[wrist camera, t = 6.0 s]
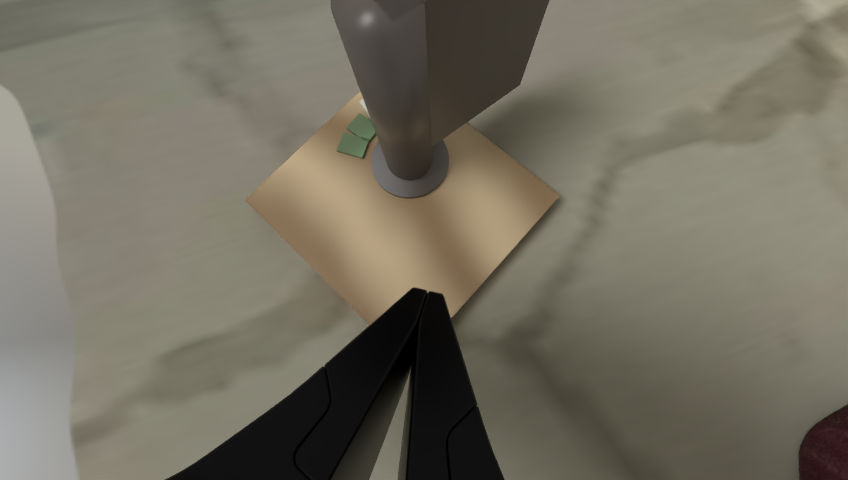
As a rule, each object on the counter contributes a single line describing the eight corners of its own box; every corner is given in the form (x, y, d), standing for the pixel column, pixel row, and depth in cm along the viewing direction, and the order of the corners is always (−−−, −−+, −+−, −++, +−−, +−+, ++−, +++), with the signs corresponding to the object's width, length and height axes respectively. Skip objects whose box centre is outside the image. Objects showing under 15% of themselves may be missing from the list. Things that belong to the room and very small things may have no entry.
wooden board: (412, 361, 18) (409, 366, 16) (256, 206, 20) (241, 198, 18) (556, 198, 19) (565, 189, 18) (396, 73, 21) (392, 55, 20)
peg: (518, 107, 19) (595, -97, 9) (404, 189, 18) (365, 55, 9) (457, 42, 20) (472, -197, 10) (348, 116, 19) (259, -70, 10)
